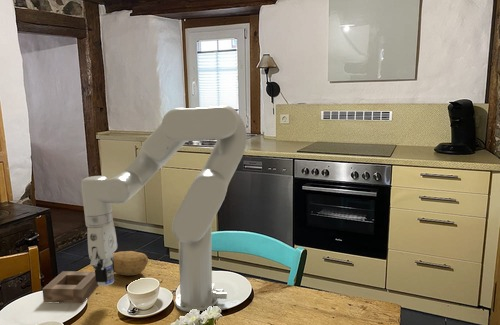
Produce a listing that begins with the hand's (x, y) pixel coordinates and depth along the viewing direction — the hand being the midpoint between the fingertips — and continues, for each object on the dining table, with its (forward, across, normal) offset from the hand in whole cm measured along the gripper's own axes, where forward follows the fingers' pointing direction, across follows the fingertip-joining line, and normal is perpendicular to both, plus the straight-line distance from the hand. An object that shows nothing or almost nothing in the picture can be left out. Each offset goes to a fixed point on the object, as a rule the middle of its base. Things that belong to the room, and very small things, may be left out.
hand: (105, 276), depth 118 cm
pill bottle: (+2, 0, 0) cm, 2 cm away
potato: (+8, +19, 0) cm, 21 cm away
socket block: (+8, +5, +13) cm, 16 cm away
